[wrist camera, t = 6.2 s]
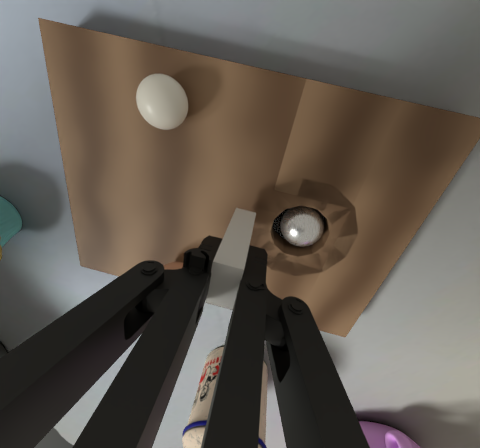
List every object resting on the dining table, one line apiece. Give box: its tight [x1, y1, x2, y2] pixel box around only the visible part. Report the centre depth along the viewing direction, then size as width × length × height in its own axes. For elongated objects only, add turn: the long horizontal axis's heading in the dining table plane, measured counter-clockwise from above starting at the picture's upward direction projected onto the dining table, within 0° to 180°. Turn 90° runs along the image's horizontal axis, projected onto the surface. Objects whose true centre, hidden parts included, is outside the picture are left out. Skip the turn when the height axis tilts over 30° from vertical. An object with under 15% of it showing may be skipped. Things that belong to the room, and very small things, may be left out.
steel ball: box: [280, 205, 324, 247], centre depth 19 cm, size 4×4×4 cm
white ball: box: [136, 74, 188, 130], centre depth 14 cm, size 3×3×3 cm
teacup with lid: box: [182, 347, 268, 448], centre depth 26 cm, size 12×9×12 cm
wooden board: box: [38, 18, 480, 337], centre depth 19 cm, size 28×20×2 cm
